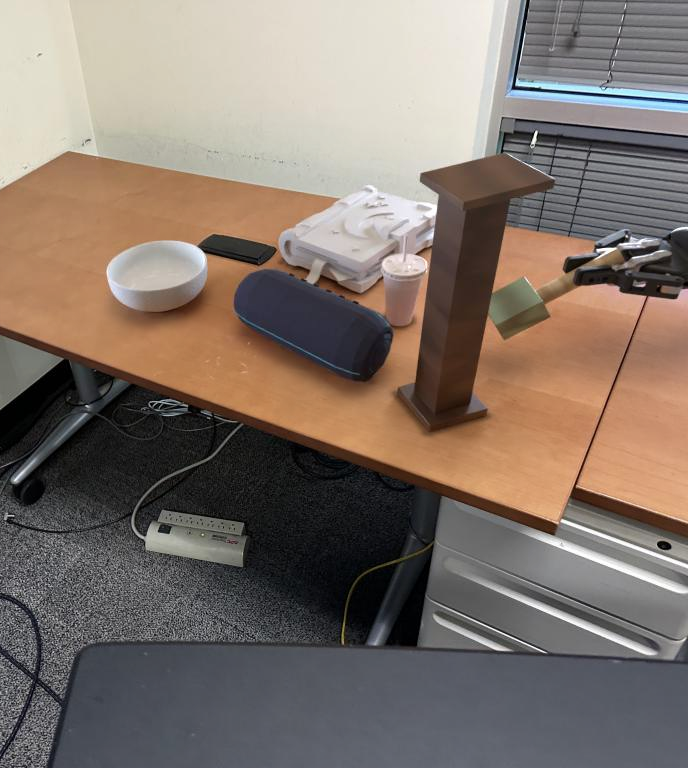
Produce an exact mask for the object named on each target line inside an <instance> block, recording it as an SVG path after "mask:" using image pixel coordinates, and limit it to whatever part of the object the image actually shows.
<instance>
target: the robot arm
mask: <svg viewBox="0 0 688 768" xmlns="http://www.w3.org/2000/svg"><path fill="white" fill-rule="evenodd" d="M632 234H633V231H632V230H631V229H627V228H626V229H625V228H624V229H621V230H618V231H616V232H614V233H612V234H610V235H607V236H606V237H604V238H602V239H600V240H598V241H595V243H594V245H593V250H592V253H584V254H577V255H576V254H574V255H570V256H567V257H566V258H564V263H563V266H562V272H564V273H565V274H567V273H569V272H570V271H572V270H574V269H576V268H578V267H580V266H582V265H584V264H586V263H588V262H590V261H591V260H593V259H595V258H597V257H599V256H601V255H603V254H605V253H607V252H609V251H610V250H612V249H614V248H616V249H618V250H619V252H620V253H621V254H622V256H623V258H624V260H625V262H623V263H618V264H613V265H612V266H611V268H610V266H609V265H601V266H592V267H583V268H578V269H577V270H576V271H575V274H574V278H573V283H574V284H575V285H576V286H580V287H583V286H585V287H589V286H598V285H607V286H609V287H618V288H619V289H618V292H620V293H621V294H625V295H626V294H627V295H632V296H633V295H634V296H643V297H650V298H657V299H664V300H673V301H674V300H677V299H678V298H679V295H680V293H681V290H688V226H685V227H677V228H676V229H674V230H671V232H670V233H668V234H667V235H666V236H664V237H662V238H650V237H649V238H647V237H646V238H643V239H638V238H635V237H632ZM642 285H644V286H642Z"/></svg>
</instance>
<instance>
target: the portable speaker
mask: <svg viewBox="0 0 688 768" xmlns="http://www.w3.org/2000/svg"><path fill="white" fill-rule="evenodd" d="M232 305H233V309H234V312H235V314H236V316H237V318H238V319H239V321H240V322H241V323H242V324H243V325H245V326H246V327H248V328H249V329H250V330H252V331H253V332H255V333H257V334H259V335H260V336H262V337H264V338H266V339H268V340H270V341H272V342H274V343H275V344H278V345H279V346H281V347H283V348H285V349H287V350H289V351H291V352H293V353H295V354H297V355H299V356H301V357H302V358H304V359H306V360H308V361H310V362H312V363H314V364H316V365H318V366H319V367H321V368H323V369H326V370H327V371H329V372H331V373H333V374H334V375H337V376H339V377H340V378H342V379H343V378H344V379H346V380H349V381H353V382H354V383H355V382H356V383H366V382H369V381H370V380H371V379H373V378H374V377H375V375H376V374H377V373H378V372H379V371H380V369H381V368H382V367H383V366H385V364H386V361H387V359H388V357H389V354H390V352H391V348H392V344H393V341H394V329H393V327H392V325H391V324H389V322H388V321H387V319H386V316H384V315H382V314H381V313H380V312H379V311H377V310H374V309H372V308H369V307H368V306H365V305H362V304H360V302H359V301H358V300H357V301H356V300H351V299H348V298H346V296H345V295H343V294H337V293H334V292H333V290H331V289H328V288H326V289H325V288H322V287H321V286H320V285H319V284H318V283H315V284H314V285H313V284H311V283H309V282H307V280H306V278H299V277H297V276H296V275H295V274H294V273H292V272H290V273H288V272H287V271H283V270H280V269H278V268H275V269H273V268H271V269H270V268H264V269H258V270H254V271H252V272H250V273H248V274H247V275H246V276H245V277H243V278H242V280H241V281H240V282H239V284H238V285H237V288H236V290H235V292H234V295H233V303H232Z"/></svg>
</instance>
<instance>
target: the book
mask: <svg viewBox="0 0 688 768" xmlns="http://www.w3.org/2000/svg"><path fill="white" fill-rule="evenodd" d="M436 212H437V204H433V203H430V202H426V201H425V202H424V201H421V202H419V201H415V200H412V199H409V198H404V197H400V196H398V195H393V194H391V193H387V192H383V191H379V189H377V188H376V187H375V186H373V185H370V184H365V185H362V186H360V187H359V188H357V189H356V191H355V192H352V193H349V194H347V195H345V196H344V197H341V198H340V199H338V200H336V201H334V202H333V204H332V205H331V206H330V207H328V208H325V209H324V210H322V211H321V212H317V213H314V214H312V215H310V216H309V217H307V218H305V219H303V220H301V221H300V222H298V223H296V225H295V226H294V227H289V228H288V229H285V230H283V231H282V232H281V233H280V235H279V238H278V249H279V251H280V254H281V257H282V258H283V259H284V261H285V262H286V263H287V264H288V265H291V266H294V267H297V266H298V267H302V268H304V269H307V270H309V274H308V275H307V276H306V278H305V279H306V280H307V282H309V283H311V284H313V285H314V284H317V282H318V281H319V279H320V277H321V276H323V277H325V278H328V279H331V280H333V281H335V282H337V284H338V285H340V286H342V287H345V288H347V289H349V290H350V291H353V292H356V293H359V294H362V293H363V292H365V291H367V290H368V289H370V288H371V287H372V286H373V285H375V284H377V283H378V280H379V279H380V278H382V277H384V276H383V274H382V272H381V267H382V262H383V260H384V259H385V258H387V257H389V256H391V255H395V254H402V253H403V245H404V235H405V234H408V235H409V236H408V246H407V254H414V255H416V254H417V253H419V252H420V251H422V250H423V249H425V248H426V249H427V248H429V247H432V244H433V236H434V228H435V220H436Z"/></svg>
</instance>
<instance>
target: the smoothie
mask: <svg viewBox="0 0 688 768" xmlns="http://www.w3.org/2000/svg"><path fill="white" fill-rule="evenodd" d="M408 236H409V235H408V234H405V235H404V245H403V253H402V254H395V255H391V256H389V257H387V258H385V259H384V260H383V262H382V267H381V272H382V274H383V276H382V277H383V288H384V289H383V290H384V304H385V305H384V306H385V318H386V319H387V321H388V322H389V324H390V326H394V327H404V326H408V325H410V324H411V322H412V320H413V317H414V314H415V310H416V306H417V302H418V298H419V295H420V291H421V287H422V284H423V280H424V277H425V276H426V275H427V273H428V261H426V259H425V258H423V257H422V256H420V255H416V254H407V246H408Z"/></svg>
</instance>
